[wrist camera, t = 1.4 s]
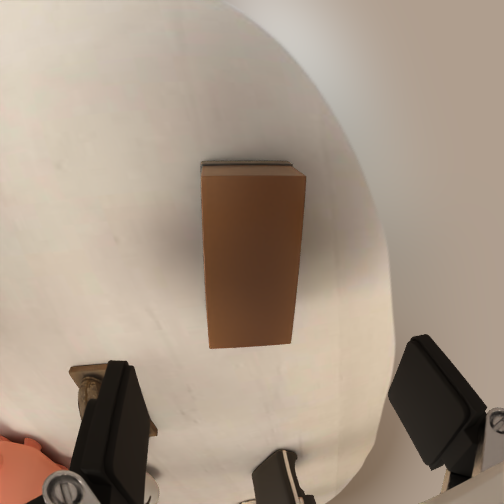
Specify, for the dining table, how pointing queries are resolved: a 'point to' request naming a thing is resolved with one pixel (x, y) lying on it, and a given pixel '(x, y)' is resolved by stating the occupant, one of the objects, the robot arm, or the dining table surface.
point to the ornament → (151, 489)
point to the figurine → (93, 388)
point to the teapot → (23, 471)
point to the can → (249, 502)
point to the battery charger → (279, 481)
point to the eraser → (251, 250)
